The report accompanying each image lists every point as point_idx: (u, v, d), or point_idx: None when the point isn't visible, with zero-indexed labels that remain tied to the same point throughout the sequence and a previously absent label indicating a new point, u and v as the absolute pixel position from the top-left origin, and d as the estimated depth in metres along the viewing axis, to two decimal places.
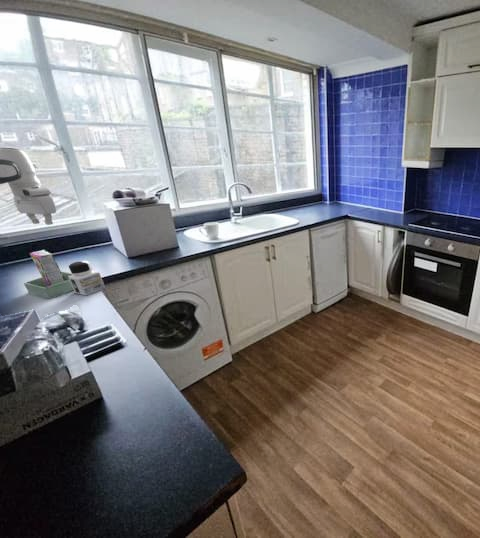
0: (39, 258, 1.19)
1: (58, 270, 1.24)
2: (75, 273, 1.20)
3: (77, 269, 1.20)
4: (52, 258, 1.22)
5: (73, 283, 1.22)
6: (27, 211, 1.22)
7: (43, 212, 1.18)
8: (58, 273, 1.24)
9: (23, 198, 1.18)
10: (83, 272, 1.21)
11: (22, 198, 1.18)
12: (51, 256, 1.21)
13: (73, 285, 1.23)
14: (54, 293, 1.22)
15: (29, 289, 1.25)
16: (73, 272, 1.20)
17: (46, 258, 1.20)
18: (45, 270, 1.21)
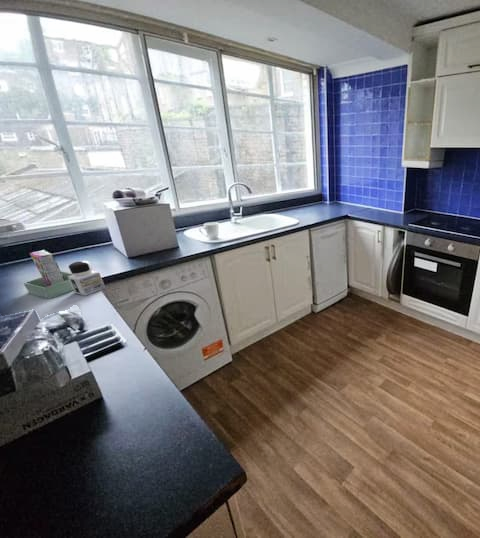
0: (39, 258, 1.19)
1: (58, 270, 1.24)
2: (75, 273, 1.20)
3: (77, 269, 1.20)
4: (52, 258, 1.22)
5: (73, 283, 1.22)
6: None
7: (17, 222, 1.37)
8: (58, 273, 1.24)
9: None
10: (83, 272, 1.21)
11: None
12: (51, 256, 1.21)
13: (73, 285, 1.23)
14: (54, 293, 1.22)
15: (29, 289, 1.25)
16: (73, 272, 1.20)
17: (46, 258, 1.20)
18: (45, 270, 1.21)
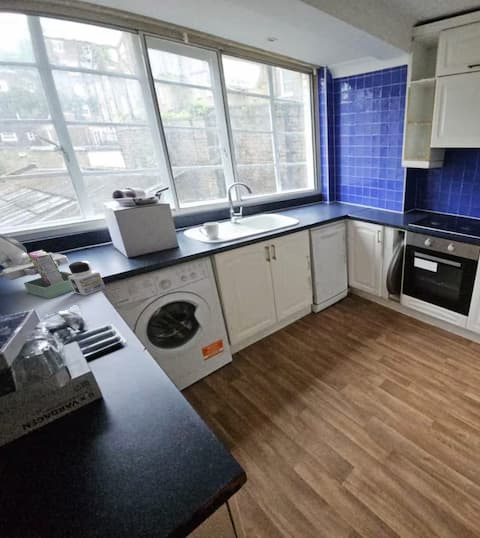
0: (37, 258, 1.18)
1: (57, 270, 1.24)
2: (75, 273, 1.20)
3: (77, 269, 1.20)
4: (50, 258, 1.21)
5: (73, 283, 1.22)
6: (28, 265, 1.25)
7: (61, 256, 1.34)
8: (57, 273, 1.24)
9: None
10: (83, 272, 1.21)
11: None
12: (49, 256, 1.21)
13: (73, 285, 1.23)
14: (54, 293, 1.22)
15: (29, 289, 1.25)
16: (73, 272, 1.20)
17: (44, 258, 1.20)
18: (44, 270, 1.20)
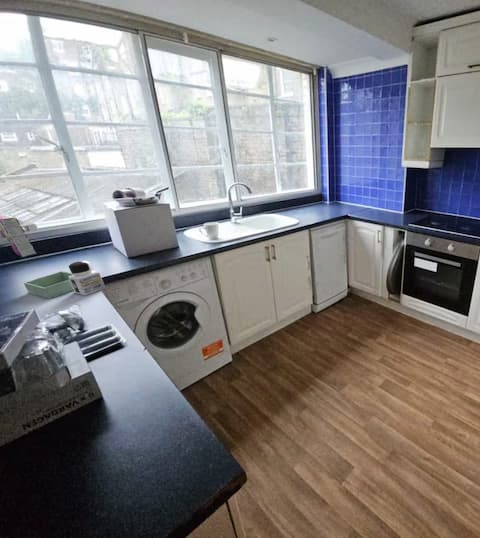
0: (2, 221, 1.17)
1: (23, 234, 1.23)
2: (75, 273, 1.20)
3: (77, 269, 1.20)
4: (16, 221, 1.20)
5: (73, 283, 1.22)
6: None
7: (30, 223, 1.33)
8: (23, 237, 1.23)
9: None
10: (83, 272, 1.21)
11: None
12: (15, 219, 1.20)
13: (73, 285, 1.23)
14: (54, 293, 1.22)
15: (29, 289, 1.25)
16: (73, 272, 1.20)
17: (10, 221, 1.19)
18: (9, 233, 1.20)
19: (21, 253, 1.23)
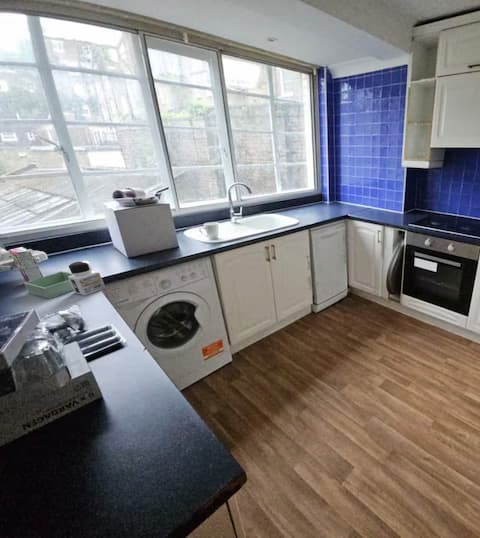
0: (16, 254, 1.25)
1: (35, 266, 1.31)
2: (75, 273, 1.20)
3: (77, 269, 1.20)
4: (29, 254, 1.28)
5: (73, 283, 1.22)
6: (7, 261, 1.31)
7: (40, 253, 1.41)
8: (35, 269, 1.31)
9: None
10: (83, 272, 1.21)
11: None
12: (28, 253, 1.28)
13: (73, 285, 1.23)
14: (54, 293, 1.22)
15: (29, 289, 1.25)
16: (73, 272, 1.20)
17: (24, 254, 1.27)
18: (23, 266, 1.27)
19: None
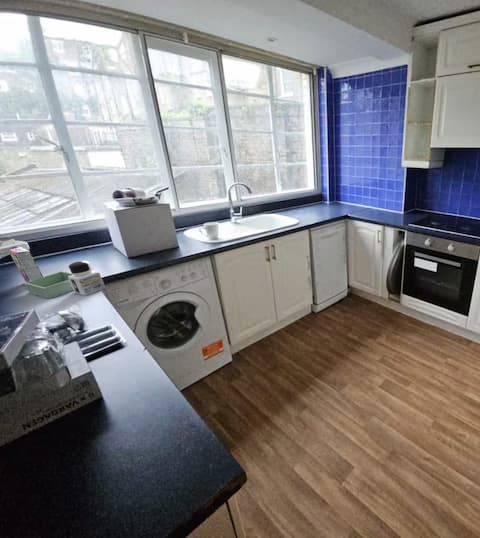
0: (16, 254, 1.25)
1: (35, 266, 1.31)
2: (75, 273, 1.20)
3: (77, 269, 1.20)
4: (29, 254, 1.28)
5: (73, 283, 1.22)
6: None
7: (22, 243, 1.43)
8: (35, 269, 1.31)
9: None
10: (83, 272, 1.21)
11: None
12: (28, 253, 1.28)
13: (73, 285, 1.23)
14: (54, 293, 1.22)
15: (29, 289, 1.25)
16: (73, 272, 1.20)
17: (24, 254, 1.27)
18: (23, 266, 1.27)
19: None
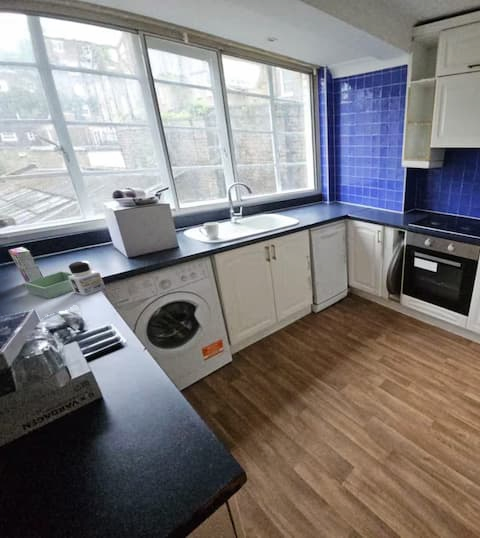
0: (16, 254, 1.25)
1: (35, 266, 1.31)
2: (75, 273, 1.20)
3: (77, 269, 1.20)
4: (29, 254, 1.28)
5: (73, 283, 1.22)
6: None
7: (9, 217, 1.39)
8: (35, 269, 1.31)
9: None
10: (83, 272, 1.21)
11: None
12: (28, 253, 1.28)
13: (73, 285, 1.23)
14: (54, 293, 1.22)
15: (29, 289, 1.25)
16: (73, 272, 1.20)
17: (24, 254, 1.27)
18: (23, 266, 1.27)
19: None
